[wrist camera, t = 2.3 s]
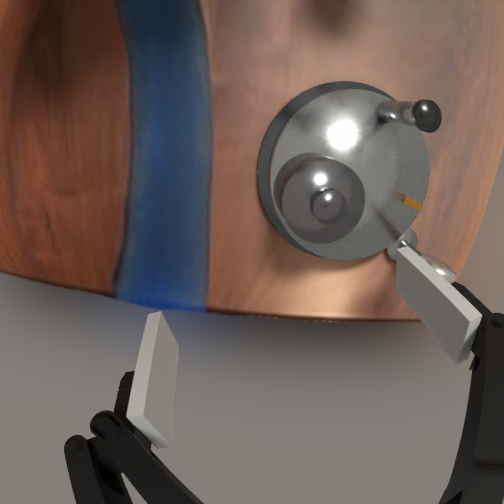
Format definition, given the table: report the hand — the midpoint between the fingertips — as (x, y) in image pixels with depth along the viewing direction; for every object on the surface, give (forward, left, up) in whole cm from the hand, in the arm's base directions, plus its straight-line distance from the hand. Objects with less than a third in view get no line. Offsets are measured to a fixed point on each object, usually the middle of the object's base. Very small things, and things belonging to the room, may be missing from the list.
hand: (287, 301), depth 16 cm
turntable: (+11, +6, -20) cm, 23 cm away
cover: (+6, +3, -18) cm, 19 cm away
